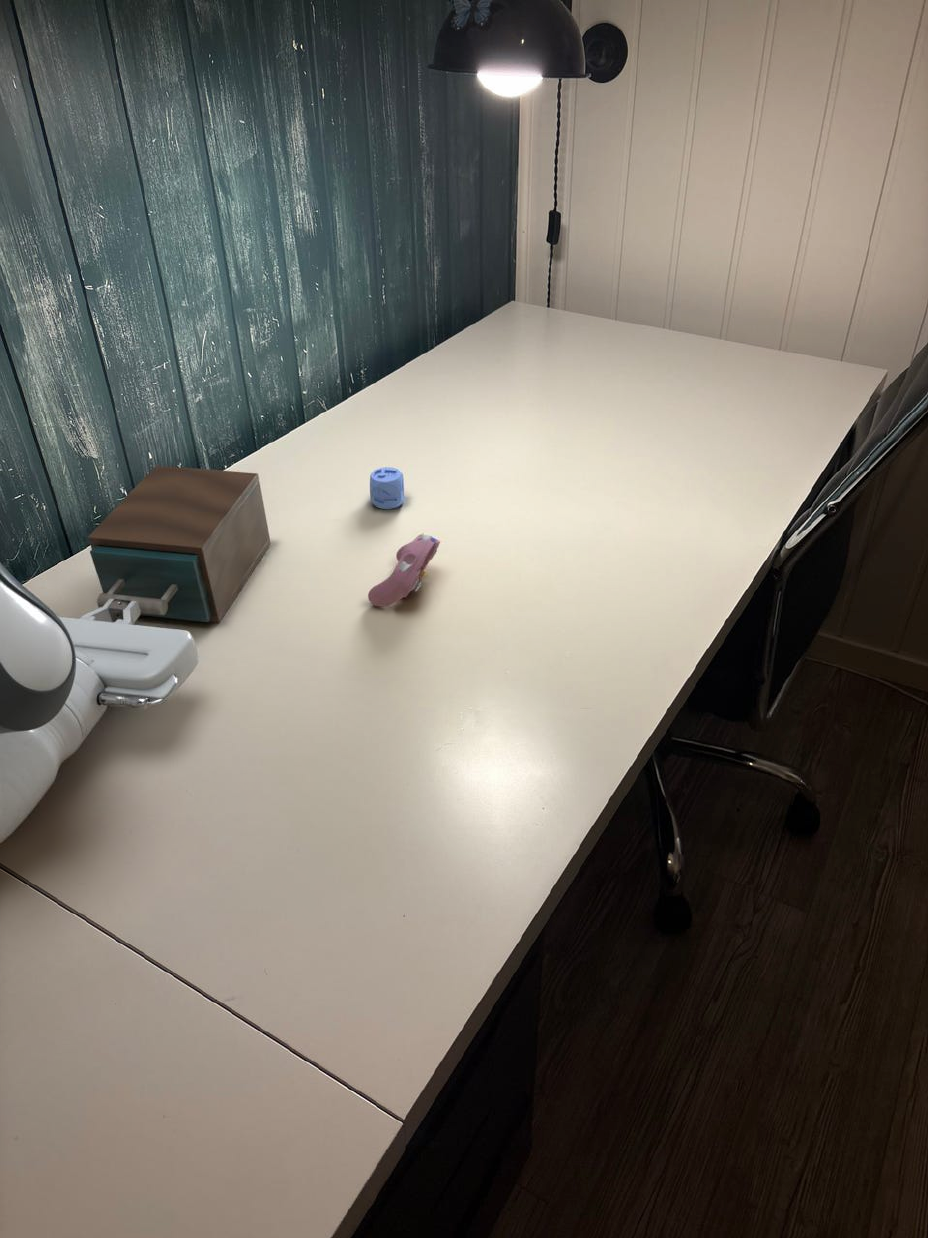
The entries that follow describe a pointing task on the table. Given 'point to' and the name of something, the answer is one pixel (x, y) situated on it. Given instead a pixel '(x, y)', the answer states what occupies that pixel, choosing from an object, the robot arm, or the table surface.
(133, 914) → the table surface
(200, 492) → the cabinet
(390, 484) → the decorative dice
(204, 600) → the drawer
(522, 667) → the table surface
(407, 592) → the video game controller
